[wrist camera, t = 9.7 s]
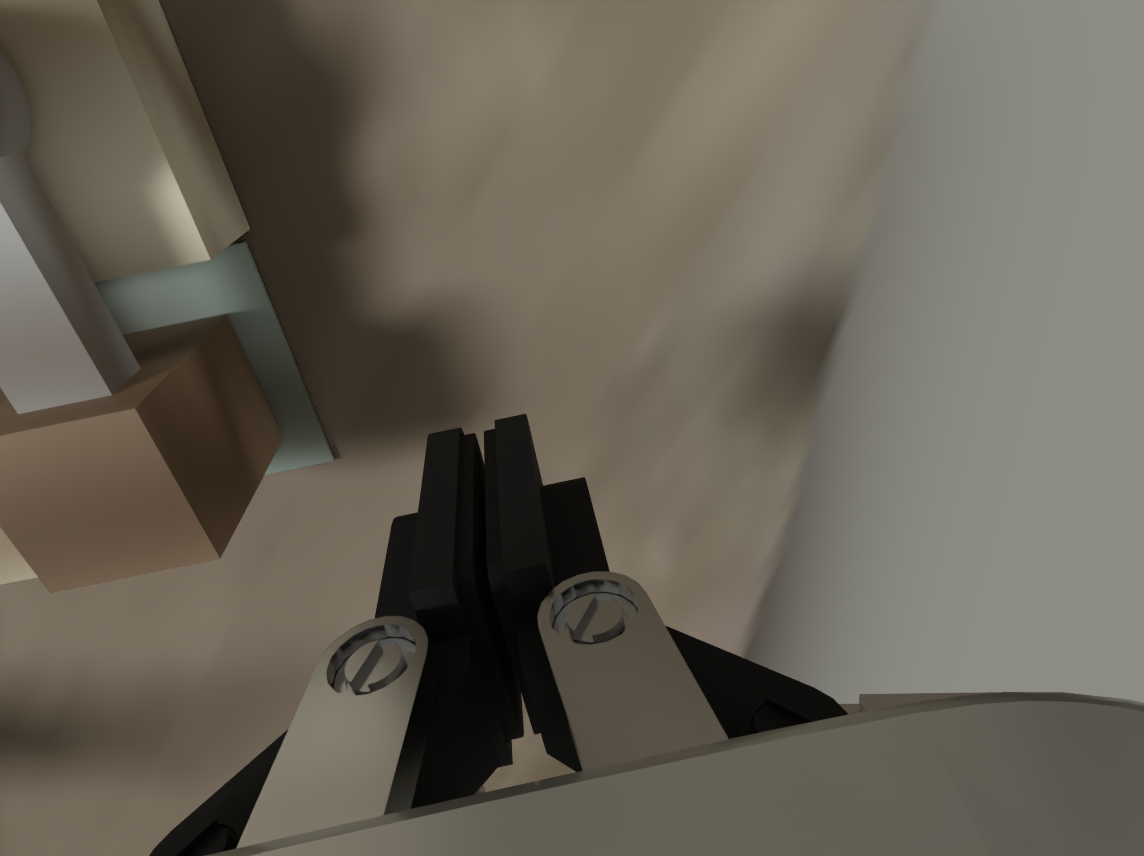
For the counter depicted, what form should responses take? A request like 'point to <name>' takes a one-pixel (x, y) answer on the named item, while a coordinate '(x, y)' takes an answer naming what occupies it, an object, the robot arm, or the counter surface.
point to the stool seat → (145, 194)
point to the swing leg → (110, 406)
